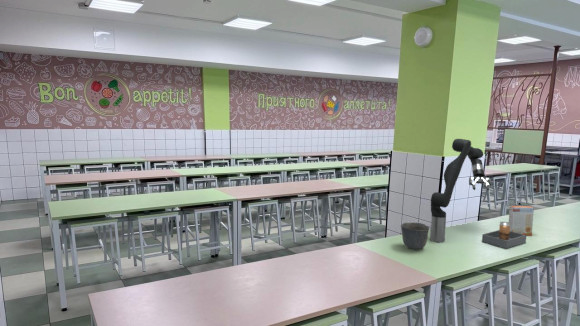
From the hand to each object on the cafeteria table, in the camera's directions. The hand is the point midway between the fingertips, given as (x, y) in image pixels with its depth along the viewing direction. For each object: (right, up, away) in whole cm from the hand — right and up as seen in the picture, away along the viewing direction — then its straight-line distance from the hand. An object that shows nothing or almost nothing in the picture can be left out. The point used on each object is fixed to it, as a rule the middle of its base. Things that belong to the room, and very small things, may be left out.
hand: (481, 189), depth 252 cm
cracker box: (+32, -33, +7) cm, 47 cm away
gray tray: (+10, -35, -11) cm, 38 cm away
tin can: (+9, -34, -11) cm, 37 cm away
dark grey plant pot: (-56, -37, -22) cm, 70 cm away
